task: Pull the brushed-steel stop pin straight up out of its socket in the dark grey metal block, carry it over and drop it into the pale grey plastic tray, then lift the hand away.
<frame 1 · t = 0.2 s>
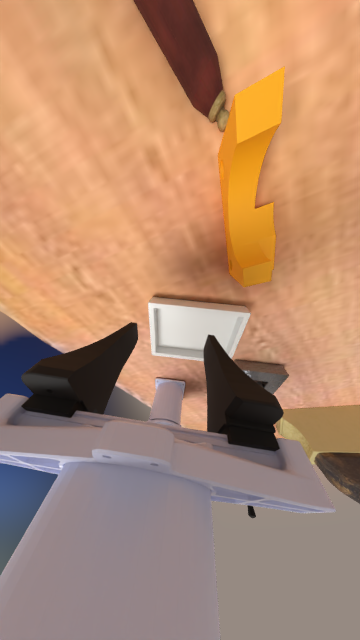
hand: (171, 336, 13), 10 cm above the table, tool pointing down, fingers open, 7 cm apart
socket block: (249, 376, 30), on the table
decorative clock: (330, 415, 37), on the table
pipe clamp: (242, 219, 16), on the table
tray: (193, 328, 24), on the table
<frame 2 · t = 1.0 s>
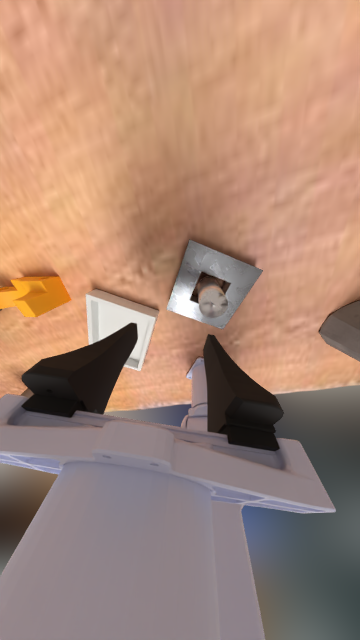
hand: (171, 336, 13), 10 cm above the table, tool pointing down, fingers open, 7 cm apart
socket block: (207, 286, 20), on the table
coffeepot: (356, 317, 21), on the table
pipe clamp: (37, 288, 24), on the table
stop pin: (207, 286, 20), resting in socket block
tray: (124, 332, 27), on the table
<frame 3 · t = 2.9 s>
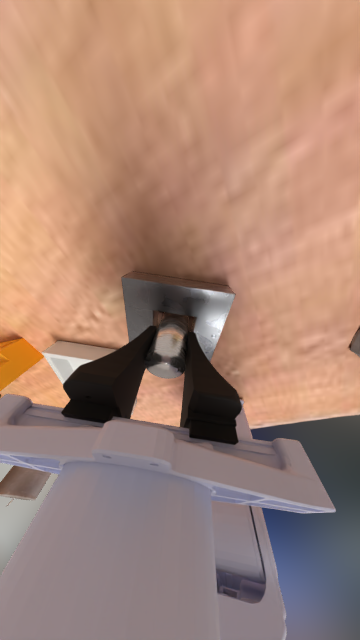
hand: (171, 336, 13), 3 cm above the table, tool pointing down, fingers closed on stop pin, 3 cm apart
socket block: (175, 319, 16), on the table
pillar candle: (62, 428, 43), on the table
pipe clamp: (12, 350, 23), on the table
stop pin: (175, 319, 16), resting in socket block, touching gripper
tray: (104, 376, 24), on the table
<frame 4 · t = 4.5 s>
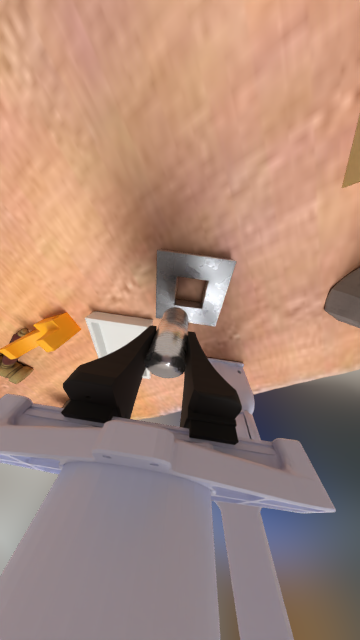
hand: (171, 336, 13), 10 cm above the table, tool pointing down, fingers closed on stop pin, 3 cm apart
socket block: (190, 288, 21), on the table
gavel: (22, 347, 34), on the table
pipe clamp: (55, 325, 28), on the table
stop pin: (175, 318, 16), point 7 cm above the table, touching gripper
tray: (127, 344, 29), on the table
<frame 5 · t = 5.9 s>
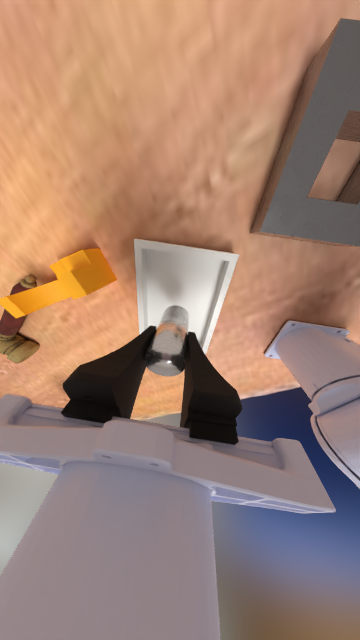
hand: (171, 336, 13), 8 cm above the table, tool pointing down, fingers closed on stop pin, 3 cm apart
socket block: (325, 176, 12), on the table
gavel: (25, 312, 25), on the table
pipe clamp: (78, 276, 20), on the table
stop pin: (176, 317, 16), point 5 cm above the table, touching gripper
tray: (179, 302, 20), on the table
when the fingers open (6 cm above the table, at t = 6.6 s): stop pin drops 2 cm, resting on tray.
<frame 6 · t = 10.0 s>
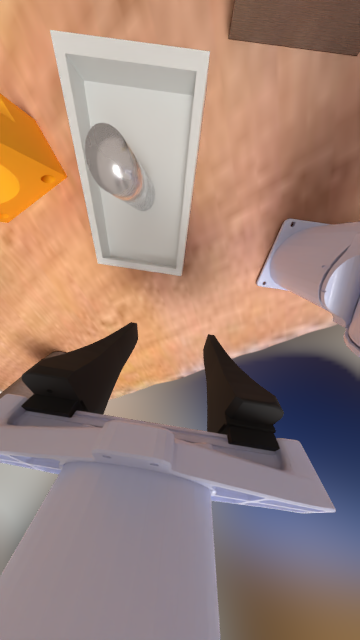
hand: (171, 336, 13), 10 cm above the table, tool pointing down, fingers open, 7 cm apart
pillar candle: (69, 362, 35), on the table
pipe clamp: (22, 181, 16), on the table
stop pin: (141, 193, 15), point 1 cm above the table, touching tray
tray: (144, 198, 15), on the table
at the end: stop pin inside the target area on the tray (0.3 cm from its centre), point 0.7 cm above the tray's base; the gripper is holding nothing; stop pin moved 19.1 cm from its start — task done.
